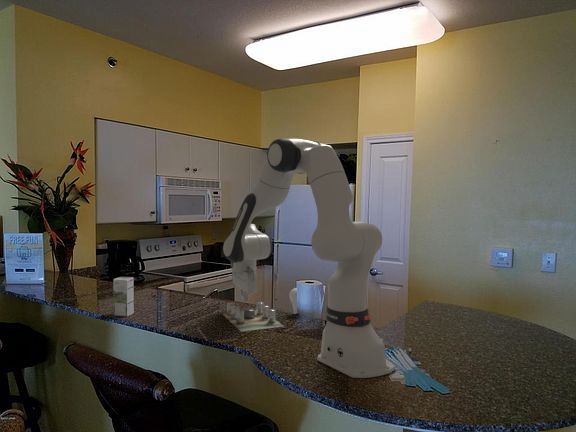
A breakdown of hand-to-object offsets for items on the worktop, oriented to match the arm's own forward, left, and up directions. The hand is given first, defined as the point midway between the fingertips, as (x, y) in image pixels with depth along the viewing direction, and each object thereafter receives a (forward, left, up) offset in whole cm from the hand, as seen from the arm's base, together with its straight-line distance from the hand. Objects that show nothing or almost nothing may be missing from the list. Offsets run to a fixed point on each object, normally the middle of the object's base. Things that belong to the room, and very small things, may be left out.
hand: (244, 300), depth 160 cm
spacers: (-7, 0, -5) cm, 9 cm away
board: (-8, 0, -6) cm, 10 cm away
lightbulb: (-7, -19, -6) cm, 22 cm away
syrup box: (+20, +43, -7) cm, 47 cm away
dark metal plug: (-5, 0, -5) cm, 8 cm away
